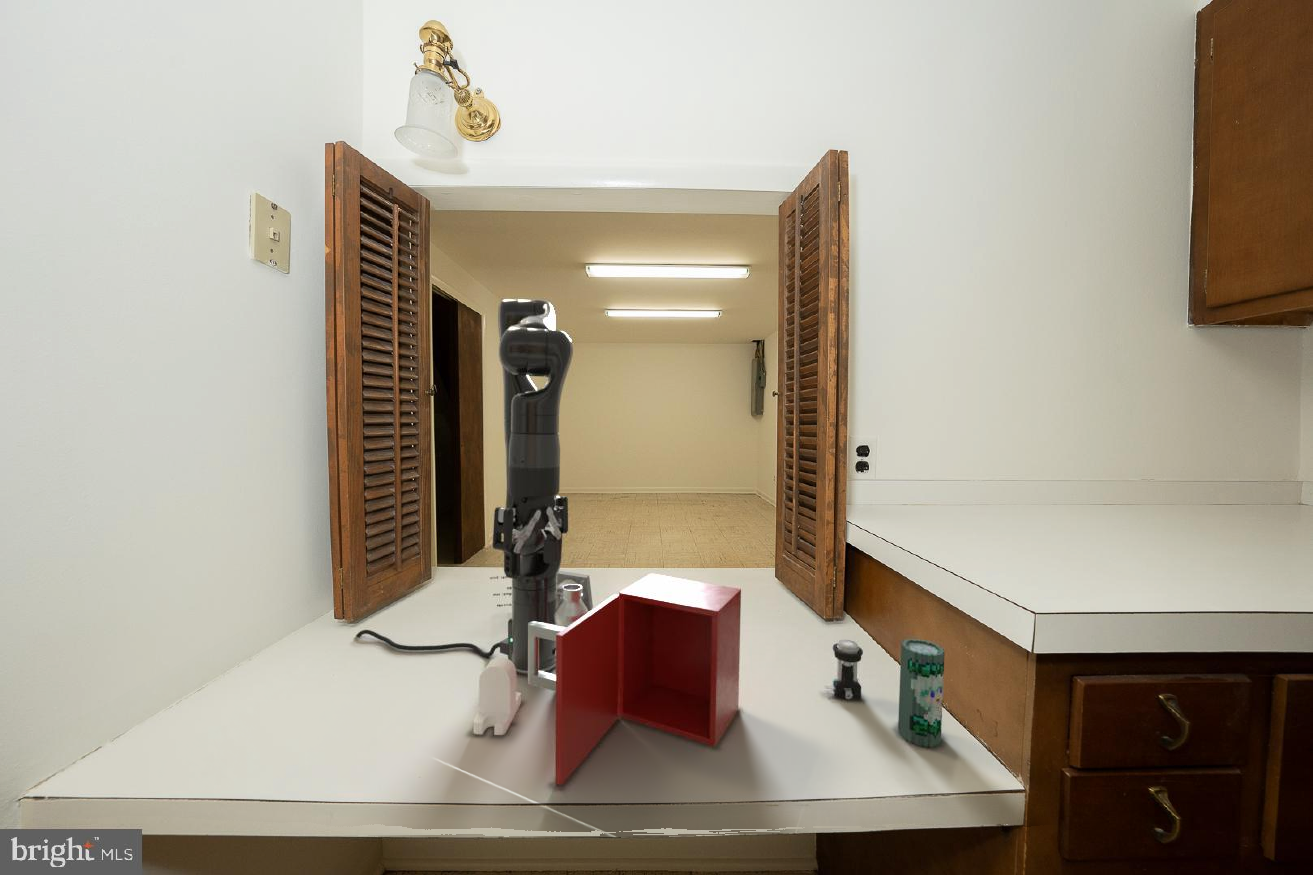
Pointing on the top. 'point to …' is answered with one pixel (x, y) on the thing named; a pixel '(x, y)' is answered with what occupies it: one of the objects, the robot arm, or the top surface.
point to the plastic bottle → (570, 606)
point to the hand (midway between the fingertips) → (532, 569)
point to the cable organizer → (497, 696)
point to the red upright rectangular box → (679, 656)
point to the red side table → (580, 681)
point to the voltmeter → (567, 579)
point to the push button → (846, 670)
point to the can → (921, 692)
